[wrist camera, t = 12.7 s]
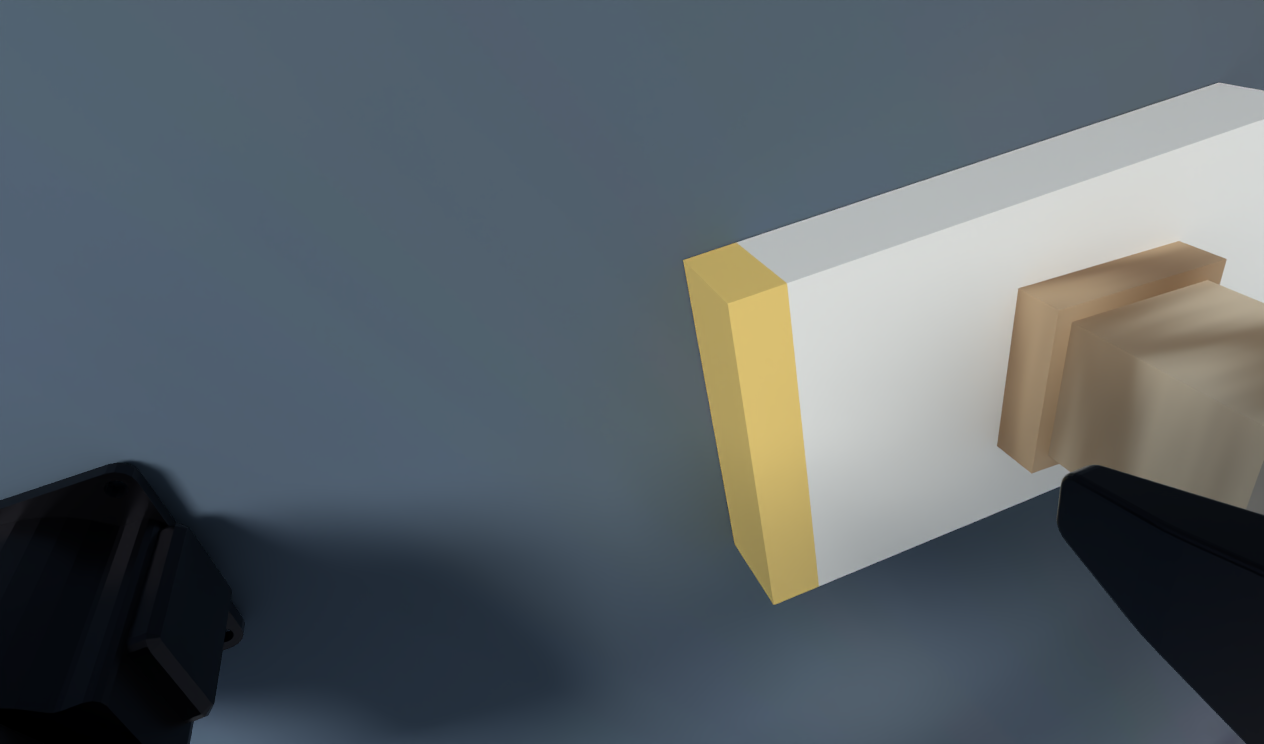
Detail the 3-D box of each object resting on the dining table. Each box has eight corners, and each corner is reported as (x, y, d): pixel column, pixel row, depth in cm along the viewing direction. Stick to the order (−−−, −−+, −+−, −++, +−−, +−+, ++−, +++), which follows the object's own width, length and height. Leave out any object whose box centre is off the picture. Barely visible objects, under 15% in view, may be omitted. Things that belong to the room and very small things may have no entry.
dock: (734, 543, 28) (773, 605, 25) (683, 260, 22) (727, 303, 19) (1162, 373, 31) (1234, 413, 28) (1218, 82, 25) (1317, 100, 22)
